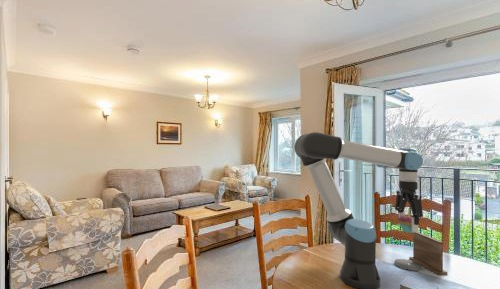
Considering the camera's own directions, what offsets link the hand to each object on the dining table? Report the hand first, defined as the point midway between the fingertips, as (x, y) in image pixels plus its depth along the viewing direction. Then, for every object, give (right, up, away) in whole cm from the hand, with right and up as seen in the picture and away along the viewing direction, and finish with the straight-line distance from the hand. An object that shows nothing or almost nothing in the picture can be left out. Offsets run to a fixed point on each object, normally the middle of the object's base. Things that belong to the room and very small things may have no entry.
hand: (408, 228), depth 123 cm
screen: (+8, -18, -1) cm, 20 cm away
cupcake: (0, -1, 0) cm, 2 cm away
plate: (-1, -17, -1) cm, 17 cm away
